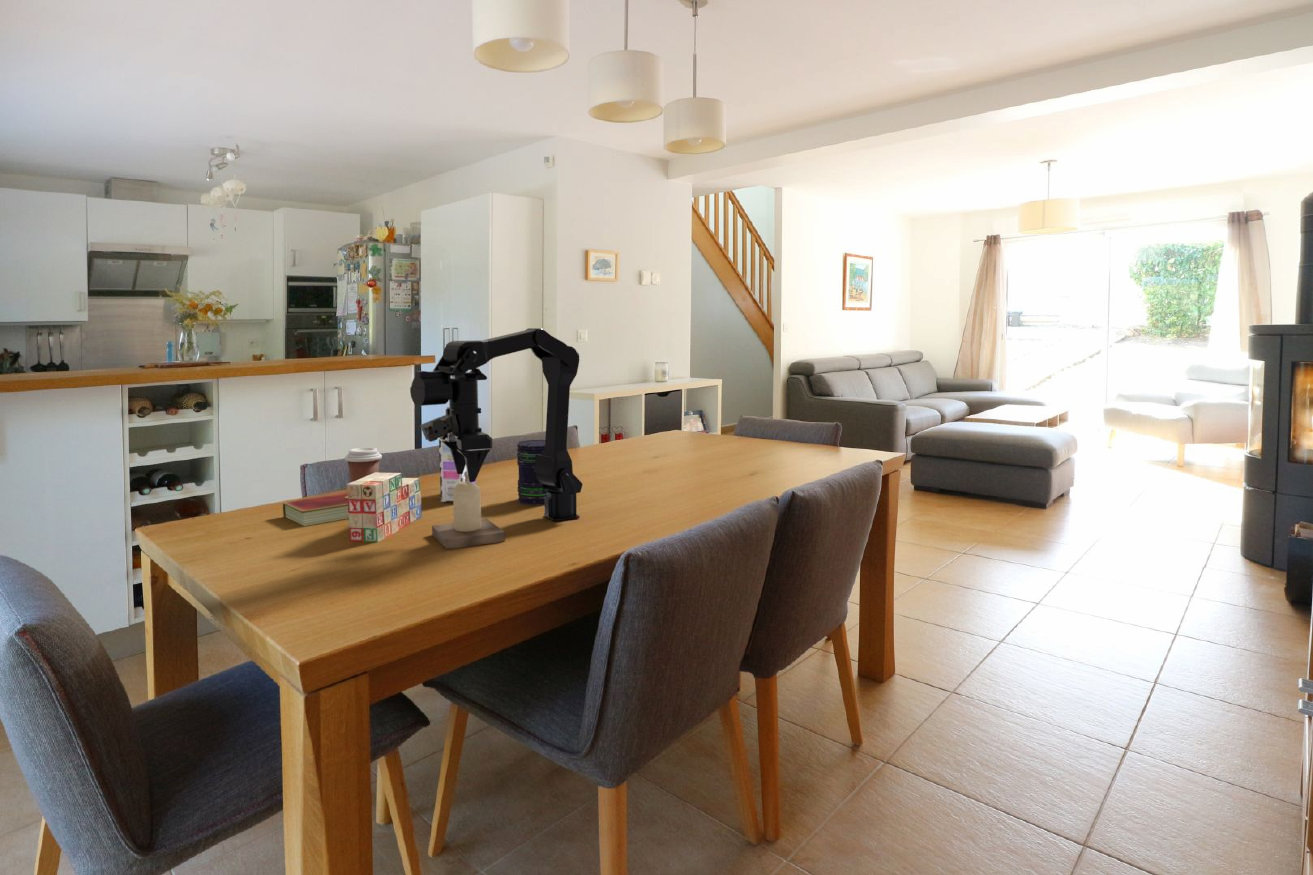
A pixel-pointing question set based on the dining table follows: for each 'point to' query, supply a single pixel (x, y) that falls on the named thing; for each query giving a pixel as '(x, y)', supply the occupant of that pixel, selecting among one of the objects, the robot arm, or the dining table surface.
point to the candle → (467, 507)
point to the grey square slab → (468, 535)
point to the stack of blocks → (382, 505)
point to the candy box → (449, 473)
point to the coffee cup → (362, 462)
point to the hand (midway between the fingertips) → (465, 477)
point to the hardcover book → (317, 509)
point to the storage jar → (529, 473)
